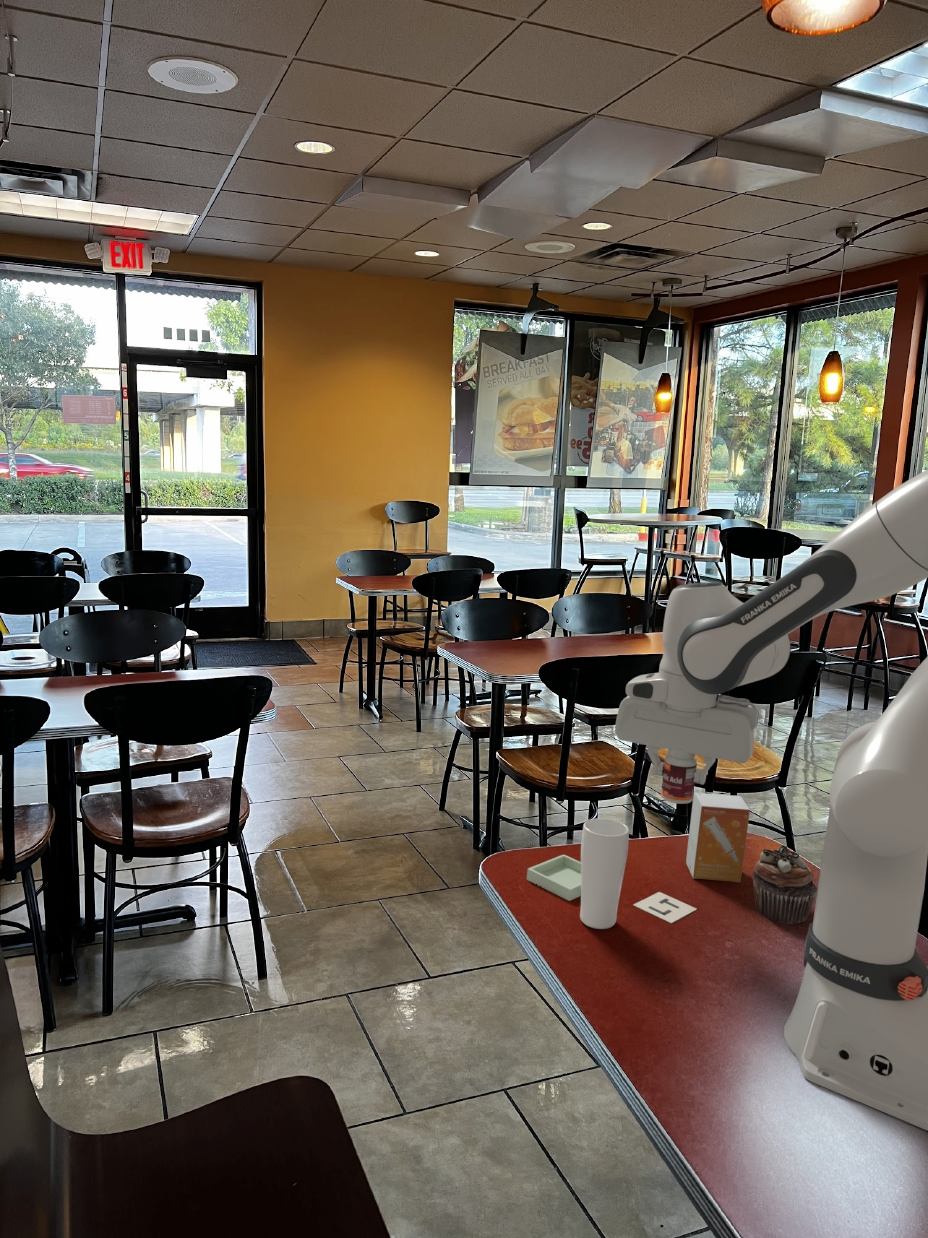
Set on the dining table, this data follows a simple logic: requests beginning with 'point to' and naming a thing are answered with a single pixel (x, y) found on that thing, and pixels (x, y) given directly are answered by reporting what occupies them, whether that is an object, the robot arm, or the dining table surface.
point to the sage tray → (558, 876)
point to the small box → (717, 837)
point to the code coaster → (665, 907)
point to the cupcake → (783, 886)
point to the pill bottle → (678, 776)
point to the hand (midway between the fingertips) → (678, 778)
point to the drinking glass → (602, 870)
